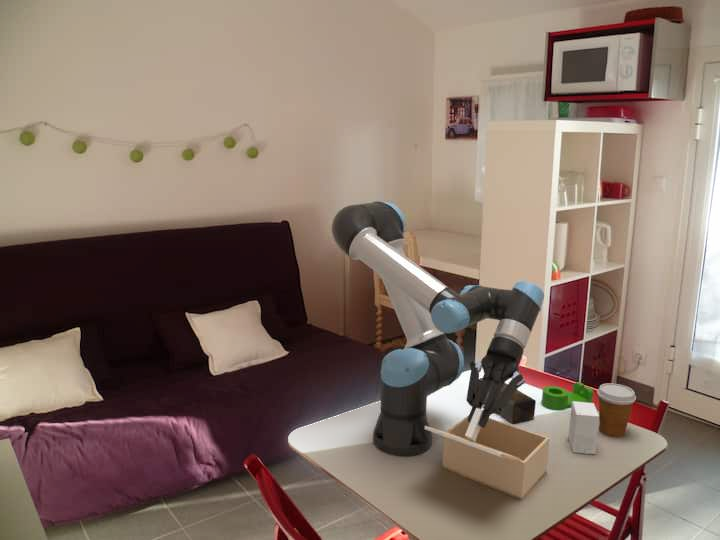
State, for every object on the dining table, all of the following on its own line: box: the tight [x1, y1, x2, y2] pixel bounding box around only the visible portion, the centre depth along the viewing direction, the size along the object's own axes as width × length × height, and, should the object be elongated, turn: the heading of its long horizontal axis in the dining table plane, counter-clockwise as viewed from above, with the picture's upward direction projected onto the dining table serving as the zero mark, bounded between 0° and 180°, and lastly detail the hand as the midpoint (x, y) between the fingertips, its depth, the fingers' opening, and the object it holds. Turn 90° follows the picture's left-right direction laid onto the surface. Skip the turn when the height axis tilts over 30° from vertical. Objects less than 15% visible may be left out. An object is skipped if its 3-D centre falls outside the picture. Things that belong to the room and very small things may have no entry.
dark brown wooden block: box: [476, 377, 537, 425], centre depth 174 cm, size 8×19×7 cm, turn 25°
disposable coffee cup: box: [596, 382, 637, 438], centre depth 161 cm, size 10×10×12 cm
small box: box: [568, 401, 600, 455], centre depth 153 cm, size 8×6×10 cm
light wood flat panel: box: [424, 426, 521, 461], centre depth 131 cm, size 18×1×12 cm
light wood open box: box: [441, 415, 550, 501], centre depth 142 cm, size 20×14×9 cm
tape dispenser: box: [541, 381, 594, 412], centre depth 178 cm, size 15×7×5 cm, turn 114°
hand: (470, 438), depth 129 cm, fingers closed
